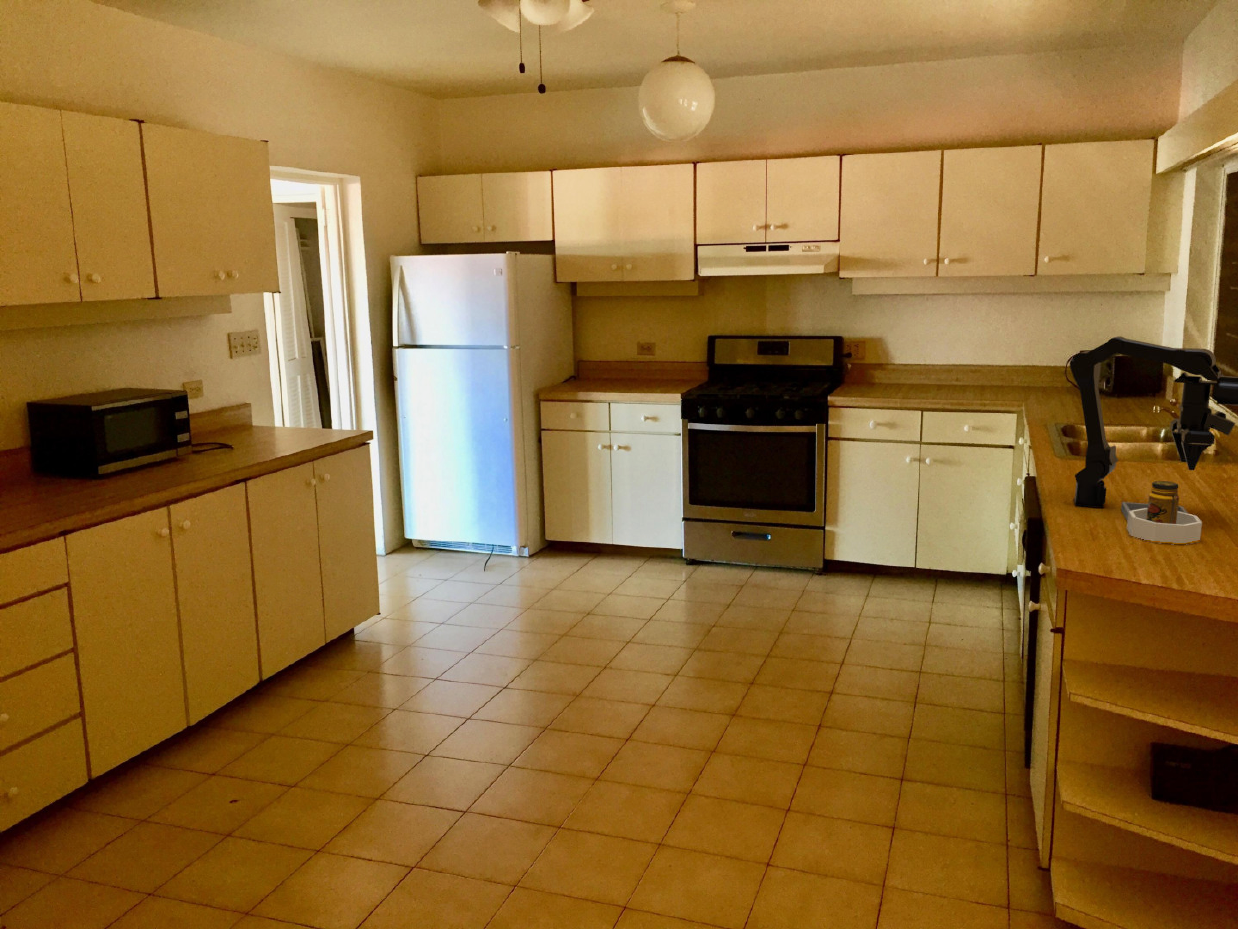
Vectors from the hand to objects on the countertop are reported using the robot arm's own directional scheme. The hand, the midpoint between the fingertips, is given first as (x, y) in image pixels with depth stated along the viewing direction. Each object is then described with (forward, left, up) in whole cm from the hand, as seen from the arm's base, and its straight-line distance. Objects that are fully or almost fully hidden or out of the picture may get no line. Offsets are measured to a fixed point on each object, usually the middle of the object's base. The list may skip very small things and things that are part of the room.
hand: (1187, 466), depth 236 cm
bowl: (-7, -18, -13) cm, 23 cm away
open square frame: (-6, -3, -13) cm, 15 cm away
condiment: (-7, -17, -13) cm, 23 cm away
